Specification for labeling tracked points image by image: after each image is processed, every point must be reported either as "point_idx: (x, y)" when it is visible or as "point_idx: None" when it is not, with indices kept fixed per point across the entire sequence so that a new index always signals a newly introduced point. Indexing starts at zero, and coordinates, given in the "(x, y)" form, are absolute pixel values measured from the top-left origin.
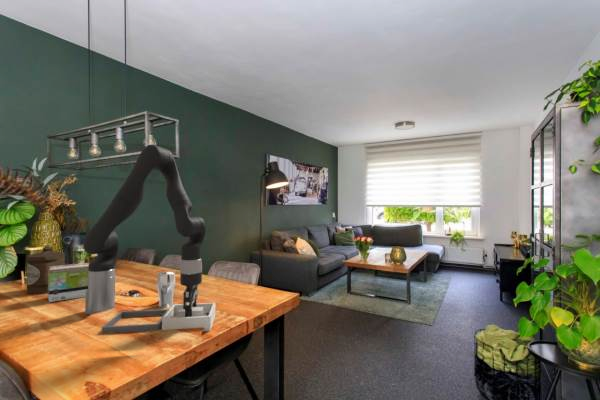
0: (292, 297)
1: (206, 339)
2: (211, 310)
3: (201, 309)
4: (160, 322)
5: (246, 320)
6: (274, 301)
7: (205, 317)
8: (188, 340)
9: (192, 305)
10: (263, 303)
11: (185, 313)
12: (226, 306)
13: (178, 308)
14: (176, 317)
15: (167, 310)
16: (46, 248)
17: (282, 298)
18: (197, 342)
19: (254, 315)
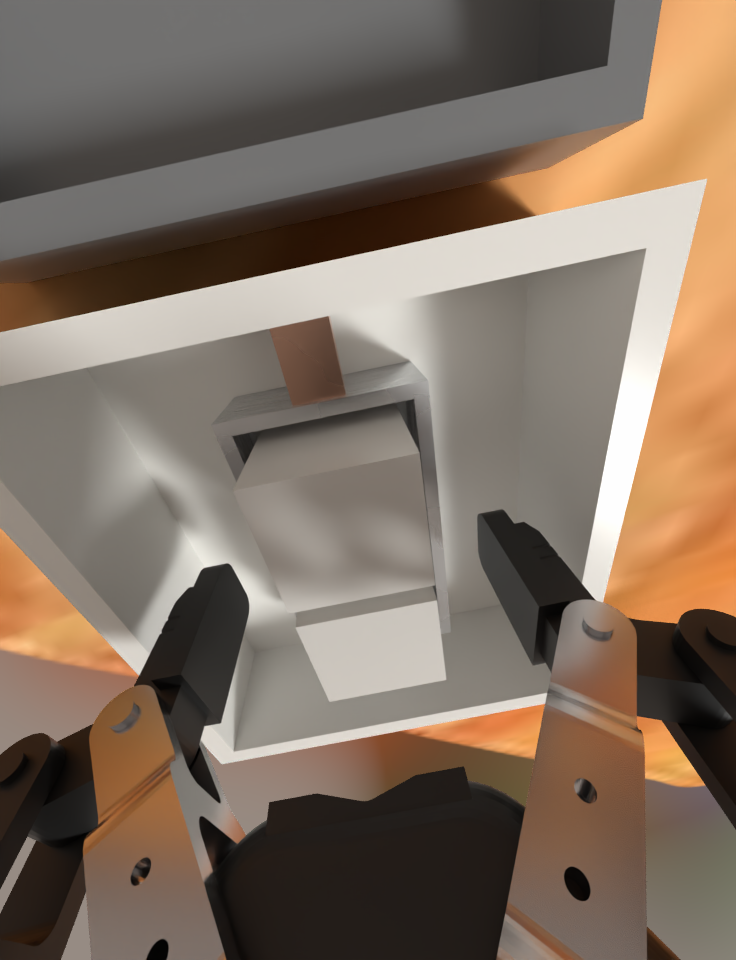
0: (680, 786)
1: (128, 667)
2: (364, 731)
3: (359, 690)
4: (25, 259)
5: (415, 732)
6: (657, 755)
7: (206, 738)
8: (62, 594)
9: (502, 577)
10: (648, 732)
11: (180, 623)
12: (684, 605)
13: (585, 322)
14: (275, 425)
15: (571, 93)
16: None
17: (686, 767)
18: (67, 645)
19: (480, 740)
